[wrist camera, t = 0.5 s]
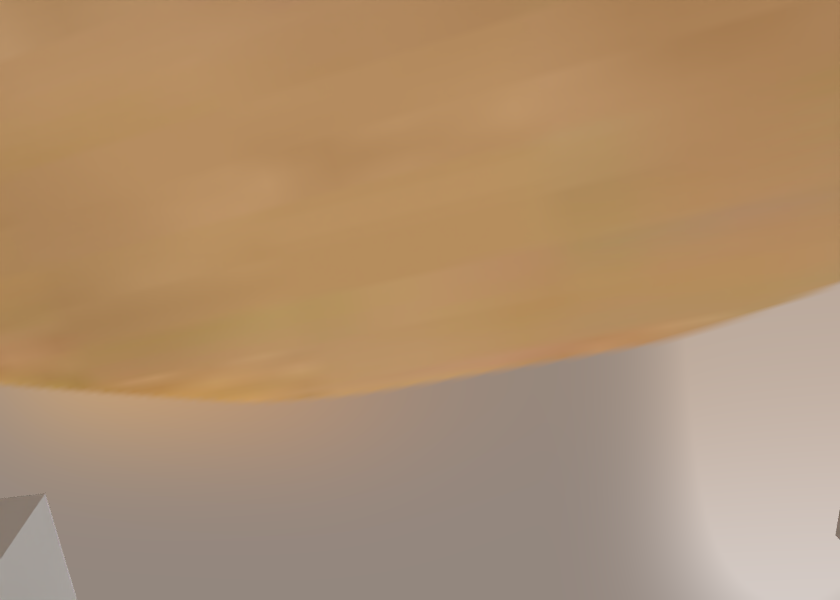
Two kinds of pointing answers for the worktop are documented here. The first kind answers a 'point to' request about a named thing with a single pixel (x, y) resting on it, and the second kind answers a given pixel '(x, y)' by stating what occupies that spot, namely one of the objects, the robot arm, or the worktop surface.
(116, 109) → the worktop surface
